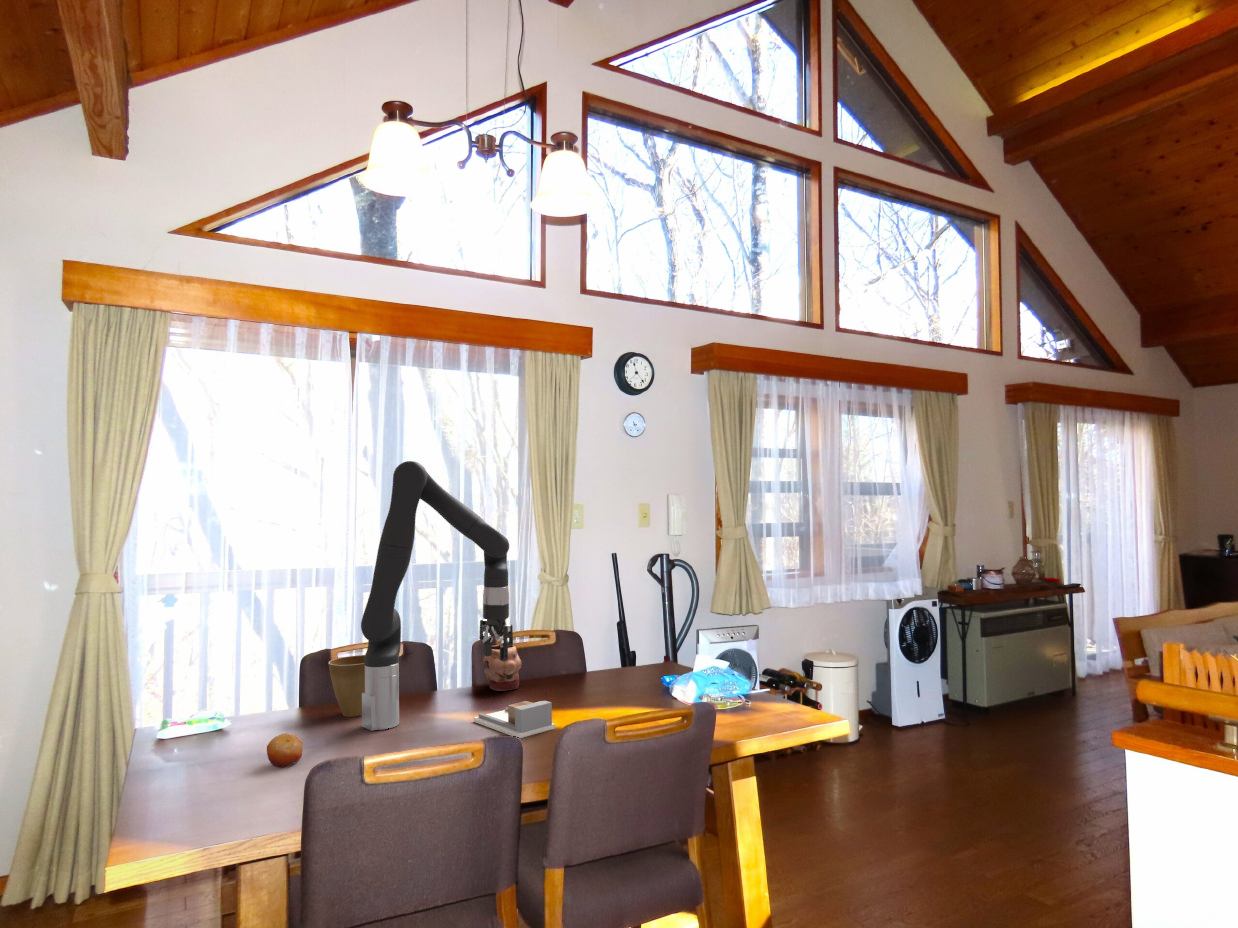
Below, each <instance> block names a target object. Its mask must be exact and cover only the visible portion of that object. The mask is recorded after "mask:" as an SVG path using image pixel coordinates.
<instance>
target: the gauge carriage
mask: <svg viewBox="0 0 1238 928" xmlns="http://www.w3.org/2000/svg"><path fill="white" fill-rule="evenodd" d="M541 701H542V700H540V701H537V702H541ZM537 702H531V701H527V700H523V701H519V702H516V703H512V704H508V705H507V707H508V722H509V723H512V724H514V725H515V708H516V707H520V706H525V705H529V704H533V703H537Z"/></svg>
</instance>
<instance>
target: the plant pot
mask: <svg viewBox="0 0 1238 928" xmlns="http://www.w3.org/2000/svg"><path fill="white" fill-rule="evenodd" d="M364 658H365V654H364V655H363V654H362V655H351V656H345V657H344V656H343V657H339V658H338V657H337V658H335V659H331V660H329V661H328V669H329V674H330V675H329V676H330V680H331V683H332V684H331V685H332V688H333V691H334V695H335V698H336V701H337V703H338V707H339V709H340V712H341V714H342V716H343V717H347V718H348V717H349V718H350V717H352V718H353V717H362V692H365V665H364Z"/></svg>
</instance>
